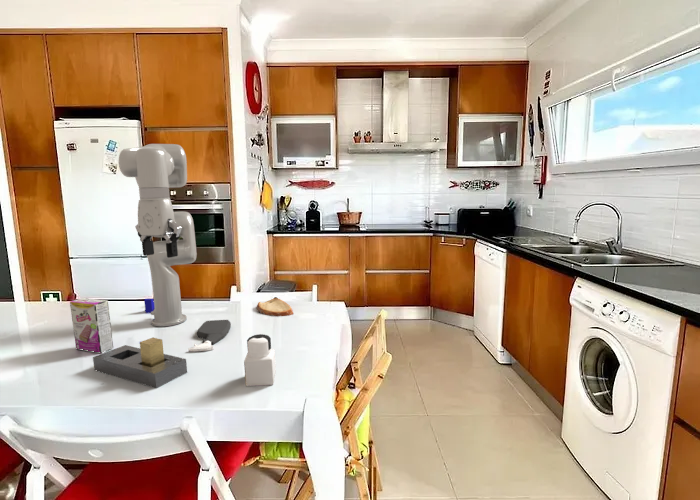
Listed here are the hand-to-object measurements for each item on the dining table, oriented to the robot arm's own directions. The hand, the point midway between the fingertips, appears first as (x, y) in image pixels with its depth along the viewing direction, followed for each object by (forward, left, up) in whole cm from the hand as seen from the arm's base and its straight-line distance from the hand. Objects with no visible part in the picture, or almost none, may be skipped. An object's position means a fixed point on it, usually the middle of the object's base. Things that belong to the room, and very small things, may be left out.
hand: (160, 255), depth 117 cm
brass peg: (+2, -7, -32) cm, 33 cm away
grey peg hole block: (-4, -7, -32) cm, 33 cm away
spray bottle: (-5, +21, -33) cm, 39 cm away
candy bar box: (-33, -2, -32) cm, 46 cm away
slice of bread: (-5, +57, -33) cm, 66 cm away
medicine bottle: (+31, +3, -32) cm, 45 cm away
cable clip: (-55, +38, -33) cm, 74 cm away
